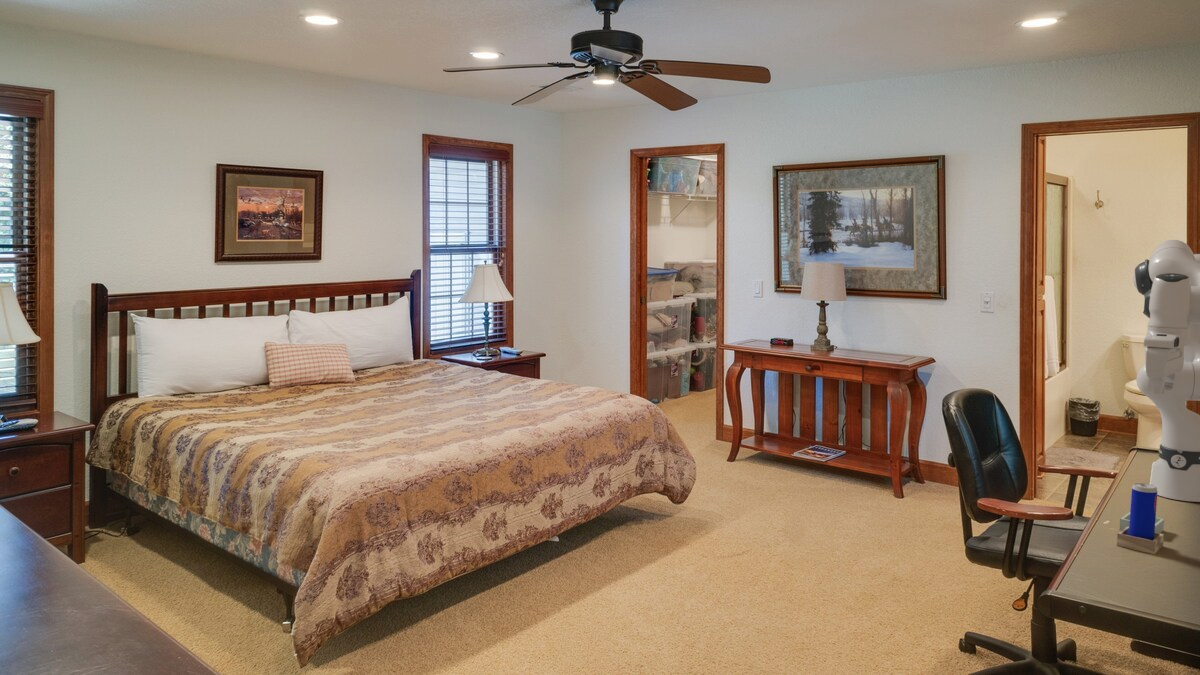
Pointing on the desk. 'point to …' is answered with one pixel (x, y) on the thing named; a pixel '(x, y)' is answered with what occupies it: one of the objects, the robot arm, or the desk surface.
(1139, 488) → the beverage can
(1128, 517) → the bin sage
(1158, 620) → the desk surface
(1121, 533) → the bin oak
